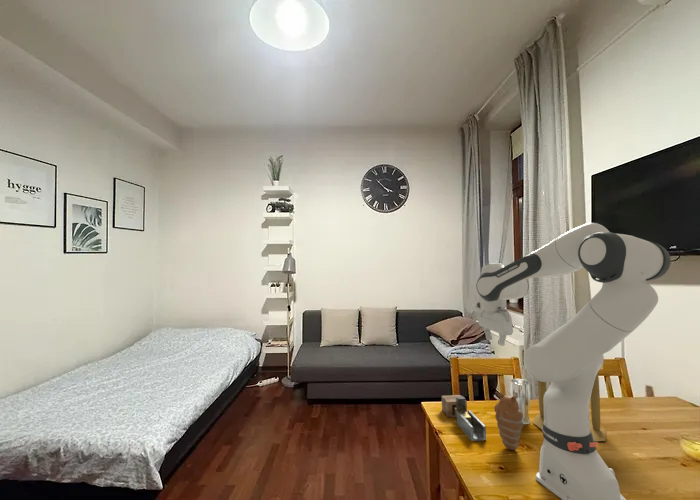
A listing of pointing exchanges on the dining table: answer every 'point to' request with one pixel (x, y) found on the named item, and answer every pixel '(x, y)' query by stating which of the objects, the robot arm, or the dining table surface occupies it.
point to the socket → (449, 404)
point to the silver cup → (521, 396)
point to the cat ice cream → (509, 420)
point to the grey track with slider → (472, 427)
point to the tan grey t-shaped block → (461, 408)
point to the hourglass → (595, 427)
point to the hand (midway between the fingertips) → (494, 342)
